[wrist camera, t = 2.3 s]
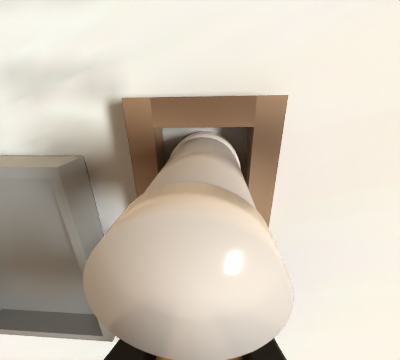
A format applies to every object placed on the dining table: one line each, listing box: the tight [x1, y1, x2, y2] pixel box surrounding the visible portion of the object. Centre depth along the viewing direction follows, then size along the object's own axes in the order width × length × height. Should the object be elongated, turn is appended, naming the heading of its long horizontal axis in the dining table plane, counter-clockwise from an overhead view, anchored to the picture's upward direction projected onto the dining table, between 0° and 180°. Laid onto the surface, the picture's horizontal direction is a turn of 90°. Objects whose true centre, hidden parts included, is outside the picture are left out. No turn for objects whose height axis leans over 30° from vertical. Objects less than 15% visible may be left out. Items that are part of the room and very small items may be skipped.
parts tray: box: [0, 156, 115, 342], centre depth 13 cm, size 14×11×2 cm
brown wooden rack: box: [122, 95, 288, 228], centre depth 13 cm, size 20×7×2 cm, turn 1°
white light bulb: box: [83, 131, 294, 360], centre depth 7 cm, size 4×4×8 cm
